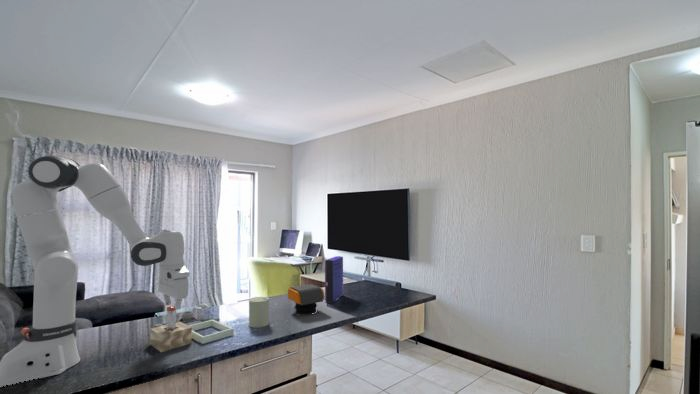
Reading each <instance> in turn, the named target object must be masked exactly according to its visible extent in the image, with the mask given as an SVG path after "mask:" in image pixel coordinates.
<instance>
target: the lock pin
mask: <svg viewBox="0 0 700 394" xmlns="http://www.w3.org/2000/svg"><path fill="white" fill-rule="evenodd" d="M176 313H177V310H176V309H175V308H174V305H172V306H171V305H169V306H167V307H166V324H167V328H166V330H167V331H169V330H173V329H176Z"/></svg>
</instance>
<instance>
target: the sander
mask: <svg viewBox="0 0 700 394" xmlns="http://www.w3.org/2000/svg"><path fill="white" fill-rule="evenodd" d="M287 299H288V300H290V301H292V302H294V303H295V305H294V308H295V310H294V314H295V315H296V314H299V315H298V316H310V315H309V314H312V313H315V312H316V309H317V307H318V305H317V303H323V302H324V300H325V290H324V289H323V288H322V287H320V286H318V285H315V284H313V283H308V284H303V285H301V284H300V285H296V286H294V285H292V286H290V287H289V288H288V290H287ZM315 314H316V313H315Z"/></svg>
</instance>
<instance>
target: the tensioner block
mask: <svg viewBox="0 0 700 394" xmlns="http://www.w3.org/2000/svg"><path fill="white" fill-rule="evenodd" d="M182 322H183V321H180V322H176V329H173V330H169V331H167V330H166V328H167V325H164V326H160V327H156V328H154V327H152V328H150V334H149V335H150V339H149V340H150V342H149V343H150V346H151V347H153V348H154V349H156V350H157V351H158V352H160V353H164V352H167V351H170V350H174V349H177V348H181V347H184V346H186V345H190V344H192V341H193V340H192V339H193V338H192V328H191V327H190V326H189V325H187V324H186V323H182Z"/></svg>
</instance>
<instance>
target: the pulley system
mask: <svg viewBox="0 0 700 394" xmlns="http://www.w3.org/2000/svg"><path fill="white" fill-rule="evenodd" d="M181 314H182V315H181V316H180V313H178V312H176V322H182V323H184V324H186V323H194V322H198V321H199V322H200V323H201V322H205V321H209V320H215V321H217V322H219V320H220V317H214V318H205V314H199V315H197V318H196V317H195V315H194V312H193V311H186V312H185V311H184V312H182V313H181ZM180 317H181V318H180ZM164 325H167V323H156V324H154V325H153V328H156V327H160V326H164Z"/></svg>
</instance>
